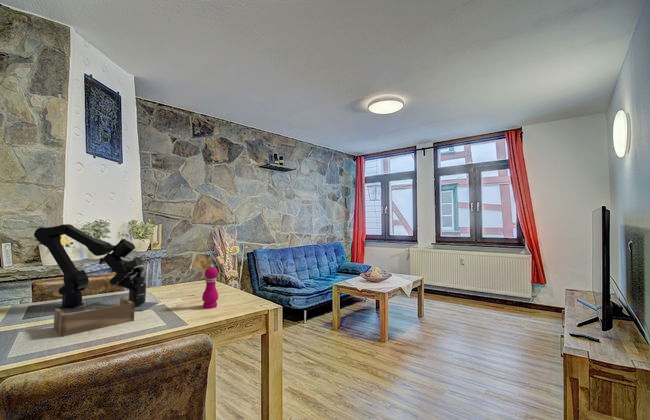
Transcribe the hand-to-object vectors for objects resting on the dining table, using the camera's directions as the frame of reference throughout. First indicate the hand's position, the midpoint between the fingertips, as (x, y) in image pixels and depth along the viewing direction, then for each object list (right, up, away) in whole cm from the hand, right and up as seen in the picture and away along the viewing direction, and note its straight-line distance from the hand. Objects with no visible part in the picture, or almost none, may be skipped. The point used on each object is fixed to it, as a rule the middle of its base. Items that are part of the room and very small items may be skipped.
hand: (140, 288), depth 141 cm
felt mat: (-1, -8, 0) cm, 8 cm away
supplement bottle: (-2, -7, 0) cm, 7 cm away
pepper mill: (+31, -10, +3) cm, 33 cm away
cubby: (-4, -8, -23) cm, 25 cm away
